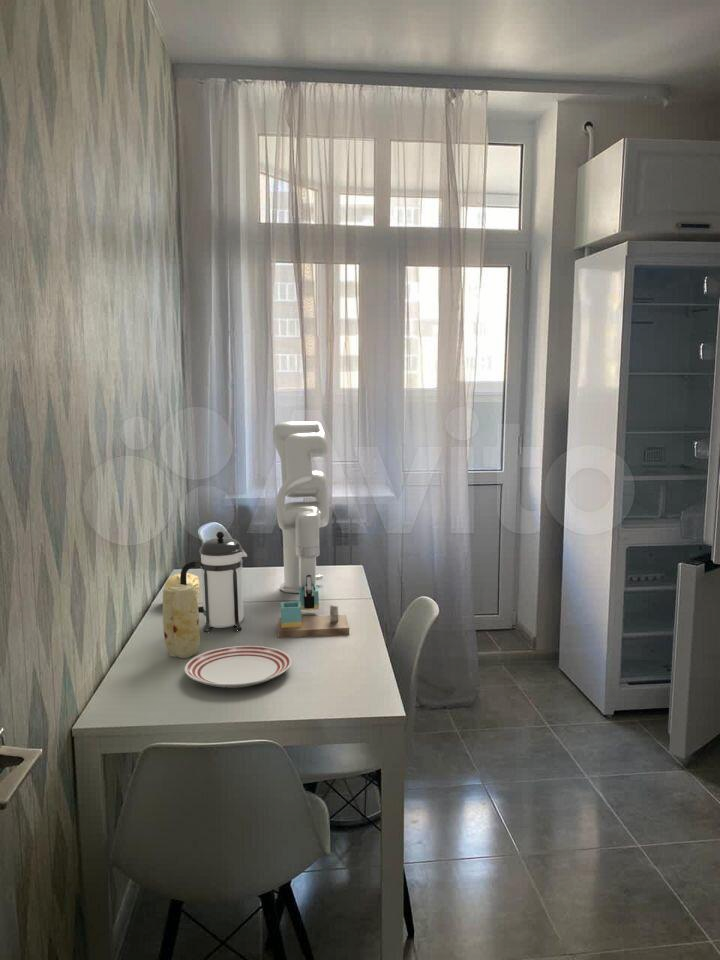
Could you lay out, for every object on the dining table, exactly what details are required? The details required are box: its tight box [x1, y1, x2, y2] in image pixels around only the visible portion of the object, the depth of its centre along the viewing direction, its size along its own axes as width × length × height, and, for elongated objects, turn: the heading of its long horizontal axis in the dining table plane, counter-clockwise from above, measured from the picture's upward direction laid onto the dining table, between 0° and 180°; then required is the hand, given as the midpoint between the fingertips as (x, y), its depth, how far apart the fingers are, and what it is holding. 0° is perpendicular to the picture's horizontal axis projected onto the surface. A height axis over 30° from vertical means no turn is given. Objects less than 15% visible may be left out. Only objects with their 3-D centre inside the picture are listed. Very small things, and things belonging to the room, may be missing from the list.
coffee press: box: [180, 531, 248, 634], centre depth 228 cm, size 17×16×30 cm
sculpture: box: [163, 572, 201, 599], centre depth 254 cm, size 11×12×11 cm
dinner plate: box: [184, 645, 292, 689], centre depth 194 cm, size 28×27×3 cm
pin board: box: [277, 604, 350, 639], centre depth 227 cm, size 21×12×7 cm, turn 96°
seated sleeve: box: [280, 600, 302, 628], centre depth 226 cm, size 6×6×6 cm
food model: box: [162, 584, 201, 659], centre depth 206 cm, size 10×7×20 cm
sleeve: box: [298, 584, 320, 611], centre depth 240 cm, size 6×6×6 cm
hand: (308, 603), depth 241 cm, fingers closed on sleeve, 6 cm apart
